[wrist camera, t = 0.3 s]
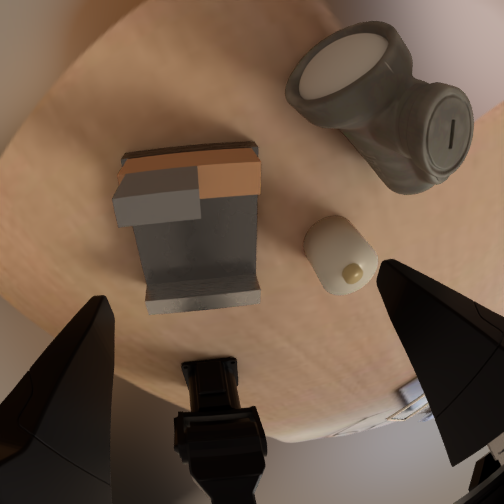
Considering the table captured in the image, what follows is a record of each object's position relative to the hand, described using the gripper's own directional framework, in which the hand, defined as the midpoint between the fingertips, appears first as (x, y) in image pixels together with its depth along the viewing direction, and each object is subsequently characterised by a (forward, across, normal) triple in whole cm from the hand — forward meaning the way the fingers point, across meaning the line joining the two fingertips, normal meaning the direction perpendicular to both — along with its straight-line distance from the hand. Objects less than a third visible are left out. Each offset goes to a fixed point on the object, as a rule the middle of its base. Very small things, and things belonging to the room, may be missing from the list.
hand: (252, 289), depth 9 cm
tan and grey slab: (+12, +2, 0) cm, 12 cm away
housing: (+14, -10, +8) cm, 19 cm away
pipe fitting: (+14, -11, -4) cm, 18 cm away
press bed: (+14, +2, +5) cm, 15 cm away
